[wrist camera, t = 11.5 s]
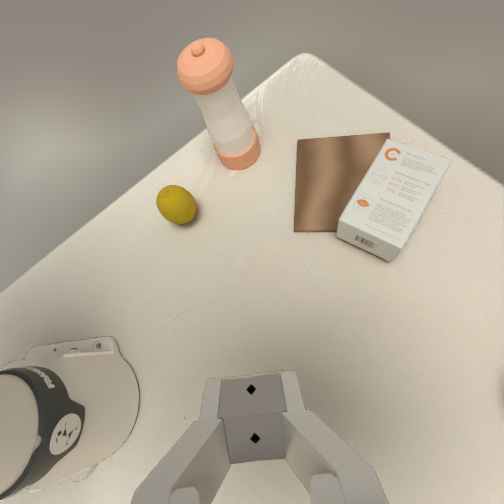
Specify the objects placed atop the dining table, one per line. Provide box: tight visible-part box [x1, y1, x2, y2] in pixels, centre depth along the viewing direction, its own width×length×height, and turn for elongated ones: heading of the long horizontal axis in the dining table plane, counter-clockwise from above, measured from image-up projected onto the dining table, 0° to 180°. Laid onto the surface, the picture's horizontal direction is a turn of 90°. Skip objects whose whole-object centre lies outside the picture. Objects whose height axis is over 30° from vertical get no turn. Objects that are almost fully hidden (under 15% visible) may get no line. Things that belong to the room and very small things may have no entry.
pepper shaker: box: [177, 38, 260, 170], centre depth 40 cm, size 7×7×19 cm
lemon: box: [157, 185, 196, 224], centre depth 44 cm, size 6×6×8 cm
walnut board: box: [294, 133, 390, 232], centre depth 43 cm, size 14×16×1 cm
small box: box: [336, 139, 452, 262], centre depth 37 cm, size 8×6×13 cm
